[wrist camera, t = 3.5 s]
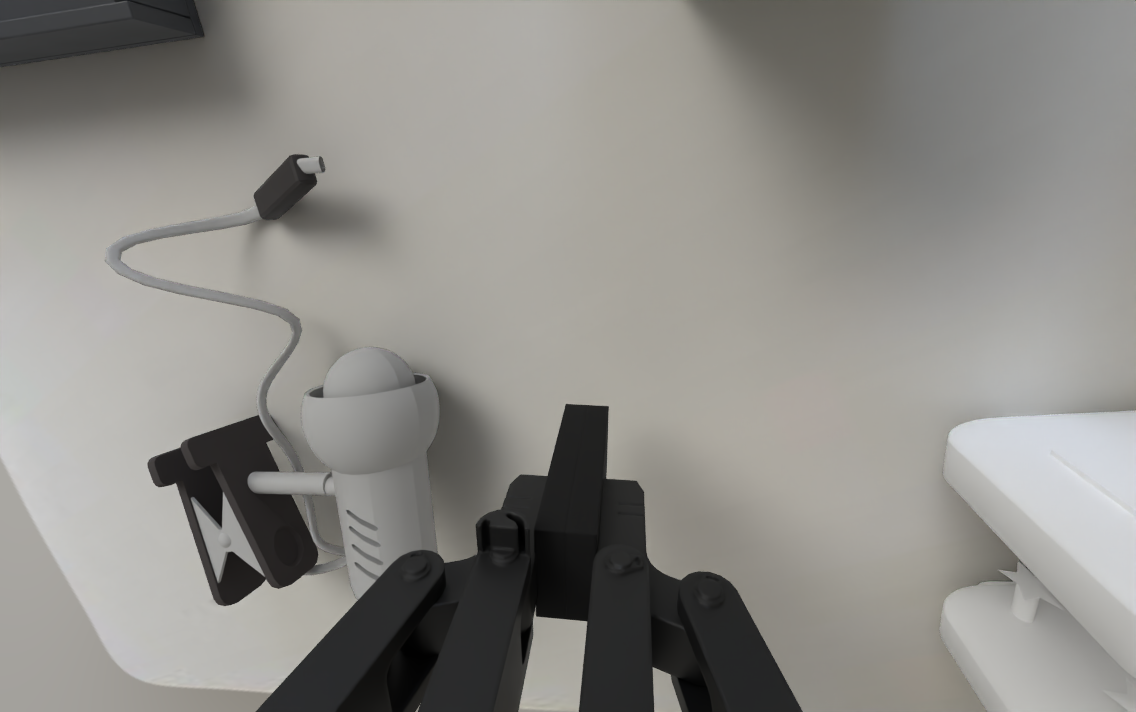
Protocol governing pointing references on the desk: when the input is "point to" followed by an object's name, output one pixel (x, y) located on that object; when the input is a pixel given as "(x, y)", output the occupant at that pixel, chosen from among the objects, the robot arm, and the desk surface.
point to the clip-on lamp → (333, 431)
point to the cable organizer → (1049, 562)
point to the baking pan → (90, 26)
